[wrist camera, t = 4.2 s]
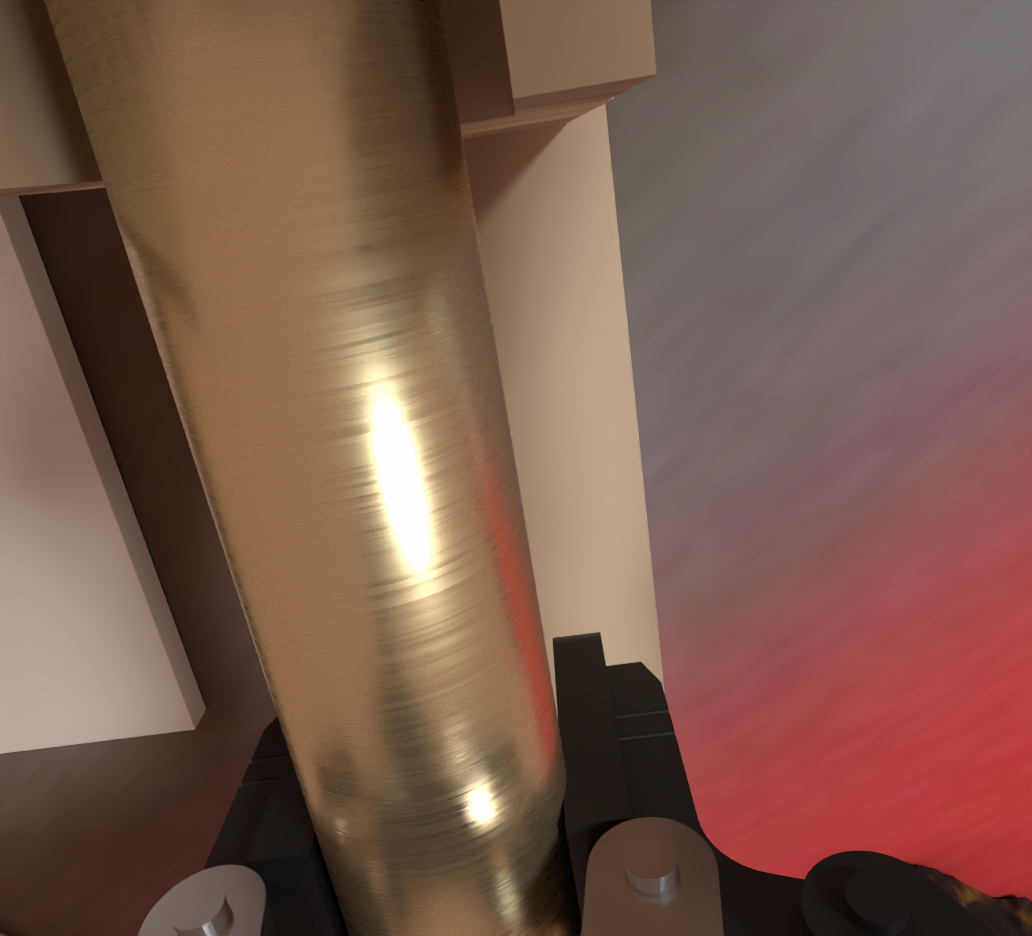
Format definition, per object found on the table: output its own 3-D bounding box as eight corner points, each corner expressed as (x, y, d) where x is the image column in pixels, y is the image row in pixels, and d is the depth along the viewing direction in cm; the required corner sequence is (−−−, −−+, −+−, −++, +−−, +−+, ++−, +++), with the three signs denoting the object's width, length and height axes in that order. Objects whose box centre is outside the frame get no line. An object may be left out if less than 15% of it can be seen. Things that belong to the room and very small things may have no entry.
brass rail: (23, -345, 6) (-392, -759, 4) (407, -425, 6) (311, -928, 3) (491, 1253, 15) (486, 1522, 12) (658, 1239, 15) (694, 1507, 12)
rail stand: (572, -134, 14) (751, -1056, 3) (675, 853, 23) (815, 1485, 12) (196, -64, 15) (-742, -684, 4) (438, 879, 24) (369, 1513, 13)
